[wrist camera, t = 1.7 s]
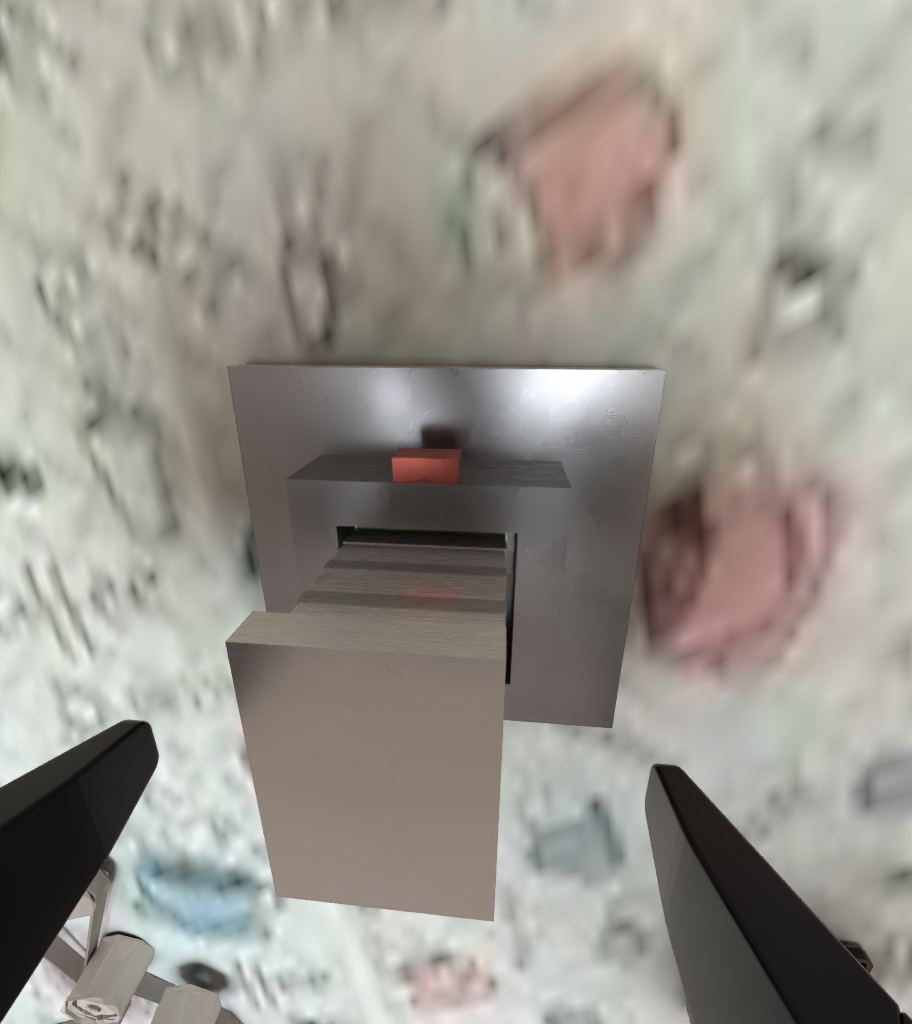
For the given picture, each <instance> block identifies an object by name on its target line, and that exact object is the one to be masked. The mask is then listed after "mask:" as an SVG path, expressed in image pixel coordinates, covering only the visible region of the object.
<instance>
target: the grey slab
mask: <svg viewBox="0 0 912 1024" xmlns="http://www.w3.org/2000/svg"><path fill="white" fill-rule="evenodd" d="M506 552H507V533H498V532H474V531H450V530H426V529H401V528H377V527H355V530H354V531H353V532H352V534H351V535H348V536H347V537H346V539H345V540H344V541H343V545H342V547H341V548H340V549H339V551H338V552H337V553H336V554H335V556H334V557H333V558H332V560H331V559H329V561H328V562H327V563H326V564H325V566H324V567H323V571H322V573H321V574H320V575H319V577H318V578H317V579H316V581H315V582H314V583H313V585H312V586H311V587H310V588H309V590H305V592H304V593H303V594H302V595H301V597H300V598H299V599H298V604H297V605H296V607H295V608H294V609H293V611H292V612H291V613H274V612H257V611H253V612H252V613H251V614H250V615H249V616H248V617H247V618H246V619H245V621H244V622H243V623H242V624H241V625H240V626H239V627H238V628H237V629H236V630H235V632H234V633H233V634H232V635H231V636H230V637H229V638H228V639H227V640H226V642H225V643H226V648H227V653H228V658H229V663H230V668H231V673H232V678H233V683H234V688H235V693H236V698H237V703H238V707H239V712H240V717H241V722H242V727H243V732H244V737H245V742H246V747H247V752H248V757H249V762H250V767H251V772H252V777H253V782H254V787H255V792H256V797H257V802H258V807H259V812H260V817H261V822H262V827H263V832H264V837H265V842H266V847H267V852H268V857H269V862H270V867H271V872H272V877H273V882H274V887H275V892H276V896H278V897H286V898H295V899H303V900H312V901H321V902H329V903H338V904H347V905H355V906H364V907H373V908H381V909H390V910H399V911H407V912H416V913H425V914H433V915H442V916H450V917H459V918H468V919H476V920H485V921H494V905H495V884H496V863H497V842H498V821H499V800H500V779H501V758H502V737H503V716H504V695H505V674H506V601H505V600H506V578H507V568H506Z"/></svg>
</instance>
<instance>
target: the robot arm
mask: <svg viewBox="0 0 912 1024" xmlns="http://www.w3.org/2000/svg"><path fill="white" fill-rule="evenodd" d="M158 759H159V753H158V749H157V746H156V742H155V739H154V735H153V732H152V728H151V726H150V724H149V723H148V722H146V721H140V720H124V721H121V722H119V723H117V724H115V725H114V726H112V727H110V728H108V729H106V730H105V731H103V732H101V733H99V734H97V735H95V736H94V737H92V738H90V739H88V740H86V741H85V742H83V743H81V744H79V745H77V746H75V747H74V748H72V749H70V750H68V751H66V752H64V753H63V754H61V755H59V756H57V757H55V758H54V759H52V760H50V761H48V762H46V763H44V764H43V765H41V766H39V767H37V768H35V769H34V770H32V771H30V772H28V773H26V774H24V775H23V776H21V777H19V778H17V779H15V780H13V781H12V782H10V783H8V784H6V785H4V786H3V787H1V788H0V1023H1V1022H2V1020H3V1019H4V1017H5V1016H6V1014H7V1013H8V1011H9V1009H10V1008H11V1006H12V1005H13V1003H14V1002H15V1000H16V999H17V997H18V996H19V994H20V992H21V991H22V989H23V988H24V986H25V985H26V983H27V982H28V980H29V979H30V977H31V975H32V974H33V972H34V971H35V969H36V968H37V966H38V965H39V963H40V962H41V960H42V958H43V957H44V955H45V954H46V952H47V951H48V949H49V948H50V946H51V944H52V943H53V941H54V940H55V938H56V937H57V935H58V934H59V932H60V931H61V929H62V927H63V926H64V924H65V923H66V921H67V920H68V918H69V917H70V915H71V914H72V912H73V910H74V909H75V907H76V906H77V904H78V903H79V901H80V900H81V898H82V897H83V895H84V893H85V892H86V890H87V889H88V887H89V886H90V884H91V883H92V881H93V880H94V878H95V876H96V875H97V873H98V872H99V870H100V869H101V867H102V865H103V864H104V862H105V860H106V859H107V857H108V855H109V854H110V852H111V850H112V848H113V847H114V845H115V843H116V841H117V840H118V838H119V836H120V834H121V832H122V830H123V828H124V827H125V825H126V823H127V821H128V819H129V817H130V815H131V814H132V812H133V810H134V808H135V806H136V804H137V803H138V801H139V799H140V797H141V795H142V793H143V791H144V790H145V788H146V786H147V784H148V782H149V780H150V778H151V777H152V775H153V773H154V771H155V769H156V767H157V764H158ZM645 813H646V819H647V824H648V830H649V835H650V841H651V846H652V852H653V857H654V863H655V868H656V874H657V879H658V885H659V890H660V896H661V901H662V906H663V911H664V916H665V921H666V925H667V929H668V933H669V937H670V941H671V944H672V948H673V951H674V955H675V959H676V962H677V966H678V969H679V973H680V976H681V980H682V984H683V987H684V991H685V994H686V998H687V1001H688V1004H687V1007H688V1008H687V1011H688V1015H689V1019H690V1022H691V1024H912V1019H911V1018H910V1017H909V1016H908V1015H907V1014H906V1013H904V1012H901V1013H900V1008H899V1006H898V1004H897V1003H896V1002H895V1001H894V1000H893V999H892V997H891V996H890V995H889V994H888V993H887V992H886V991H885V990H884V989H883V988H882V987H881V986H880V984H879V983H878V982H877V981H876V980H875V979H874V978H873V977H872V976H871V975H870V972H871V970H872V968H873V964H872V962H871V961H870V959H869V957H868V955H867V954H866V952H865V951H864V950H863V949H860V948H854V947H845V946H844V945H843V944H842V943H841V942H840V941H839V940H838V939H837V938H836V936H835V935H834V934H833V933H832V932H831V931H830V930H829V929H828V928H827V927H826V926H825V924H824V923H823V922H822V921H821V920H820V919H819V918H818V917H817V916H816V915H815V914H814V912H813V911H812V910H811V909H810V908H809V907H808V906H807V905H806V904H805V903H804V902H803V900H802V899H801V898H800V897H799V896H798V895H797V894H796V893H795V892H794V891H793V890H792V888H791V887H790V886H789V885H788V884H787V883H786V882H785V881H784V880H783V879H782V878H781V876H780V875H779V874H778V873H777V872H776V871H775V870H774V869H773V868H772V867H771V866H770V864H769V863H768V862H767V861H766V860H765V859H764V858H763V857H762V856H761V855H760V854H759V852H758V851H757V850H756V849H755V848H754V847H753V846H752V845H751V844H750V843H749V842H748V840H747V839H746V838H745V837H744V836H743V835H742V834H741V833H740V832H739V831H738V830H737V828H736V827H735V826H734V825H733V824H732V823H731V822H730V821H729V820H728V819H727V818H726V816H725V815H724V814H723V813H722V812H721V811H720V810H719V809H718V808H717V807H716V806H715V804H714V803H713V802H712V801H711V800H710V799H709V798H708V797H707V796H706V795H705V794H704V792H703V791H702V790H701V789H700V788H699V787H698V786H697V785H696V784H695V783H694V782H693V781H692V779H691V778H690V777H689V776H688V775H687V774H686V773H685V772H684V771H683V770H682V769H681V768H680V767H678V766H676V765H667V764H654V765H653V766H652V768H651V771H650V776H649V781H648V786H647V791H646V796H645Z"/></svg>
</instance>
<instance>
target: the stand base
mask: <svg viewBox="0 0 912 1024" xmlns="http://www.w3.org/2000/svg"><path fill="white" fill-rule="evenodd" d="M227 368H228V374H229V380H230V386H231V393H232V399H233V405H234V411H235V418H236V424H237V430H238V436H239V443H240V449H241V455H242V461H243V468H244V474H245V480H246V486H247V493H248V499H249V505H250V511H251V518H252V524H253V530H254V536H255V543H256V549H257V555H258V561H259V568H260V574H261V580H262V586H263V592H264V599H265V605H266V611H267V612H274V613H291V612H292V611H293V609H294V608H295V607H296V605H297V604H298V599H299V598H300V597H301V595H302V594H303V593H304V592H305V590H309V588H310V587H311V586H312V585H313V583H314V582H315V581H316V579H317V578H318V577H319V575H320V574H321V573H322V571H323V567H324V566H325V564H326V563H327V562H328V561H329V559H331V560H332V558H333V557H334V556H335V554H336V553H337V552H338V551H339V549H340V548H341V547H342V545H343V541H344V540H345V539H346V537H347V536H348V535H351V534H352V532H353V531H354V530H355V527H377V528H401V529H426V530H450V531H474V532H498V533H507V552H506V568H507V578H506V600H505V601H506V674H505V695H504V716H503V720H512V721H525V722H538V723H551V724H564V725H577V726H590V727H603V728H612V725H613V719H614V712H615V705H616V699H617V692H618V686H619V679H620V672H621V666H622V659H623V653H624V646H625V639H626V633H627V626H628V620H629V613H630V606H631V600H632V593H633V587H634V580H635V573H636V567H637V560H638V554H639V547H640V541H641V534H642V527H643V521H644V514H645V508H646V501H647V494H648V488H649V481H650V475H651V468H652V461H653V455H654V448H655V442H656V435H657V428H658V422H659V415H660V409H661V402H662V395H663V389H664V382H665V376H666V370H663V369H659V368H642V367H534V366H427V365H320V364H240V365H232V366H227Z"/></svg>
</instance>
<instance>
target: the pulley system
mask: <svg viewBox="0 0 912 1024" xmlns="http://www.w3.org/2000/svg"><path fill="white" fill-rule="evenodd" d="M109 881H110V880H109V873H108V872H106V871H104V870H102V869H100V870H99V872H98V873H97V875H96V876H95V878H94V880H93V881H92V883H91V884H90V886H89V887H88V889H87V890H86V892H85V893H84V895H83V897H82V898H81V900H80V901H79V903H78V904H77V906H76V907H75V909H74V910H73V912H72V914H71V915H70V917H69V918H68V920H69V919H75V918H80V917H85V916H90V915H91V917H90V924H89V932H88V939H87V946H86V954H85V959H84V958H83V957H82V956H81V955H80V954H79V953H77V952H76V951H75V950H74V949H73V948H72V947H70V946H69V945H68V944H67V943H66V942H65V941H63V940H62V939H61V938H60V937H59V936H57V937H56V938H55V940H54V941H53V943H52V944H51V946H50V948H49V949H48V951H47V952H46V954H45V955H44V957H43V958H45V959H46V960H47V961H48V962H50V963H51V964H52V965H53V966H55V967H56V968H57V969H59V970H60V971H61V972H62V973H64V974H65V975H66V976H67V977H69V978H70V979H71V980H72V981H74V982H75V983H76V985H75V987H74V988H73V990H72V992H71V994H70V995H69V996H68V997H67V999H66V1001H65V1004H64V1006H63V1007H62V1009H61V1011H60V1012H62V1013H63V1014H65V1015H67V1016H68V1017H70V1018H71V1019H73V1020H71V1021H68V1022H64V1023H60V1024H120V1023H121V1021H122V1019H123V1018H124V1016H125V1014H126V1012H127V1010H128V1008H129V1006H130V1000H131V998H132V996H133V995H136V996H139V997H142V998H144V999H147V1000H150V1001H153V1002H156V1003H158V1004H159V1006H158V1008H157V1011H156V1013H155V1015H154V1018H153V1020H152V1022H151V1024H243V1023H242V1022H241V1021H240V1020H239V1019H238V1018H237V1017H236V1016H235V1015H234V1014H232V1013H231V1012H229V1011H227V1010H225V1009H223V1008H221V1007H222V1005H221V1002H220V1000H219V997H218V994H217V993H214V992H212V991H209V990H206V989H203V988H200V987H198V986H195V985H192V984H187V985H180V986H176V985H174V984H172V983H169V982H166V981H164V980H161V979H158V978H156V977H153V976H150V975H147V974H145V972H146V970H147V968H148V966H149V965H150V963H151V961H152V959H153V956H154V948H153V947H151V946H150V945H148V944H147V943H145V942H144V941H142V940H140V939H136V938H131V937H127V936H123V935H119V934H118V935H113V936H107V937H103V939H102V941H101V943H100V944H99V946H98V948H97V943H98V938H99V933H100V928H101V922H102V917H103V912H104V907H105V902H106V897H107V891H108V886H109ZM96 948H97V949H96Z"/></svg>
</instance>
